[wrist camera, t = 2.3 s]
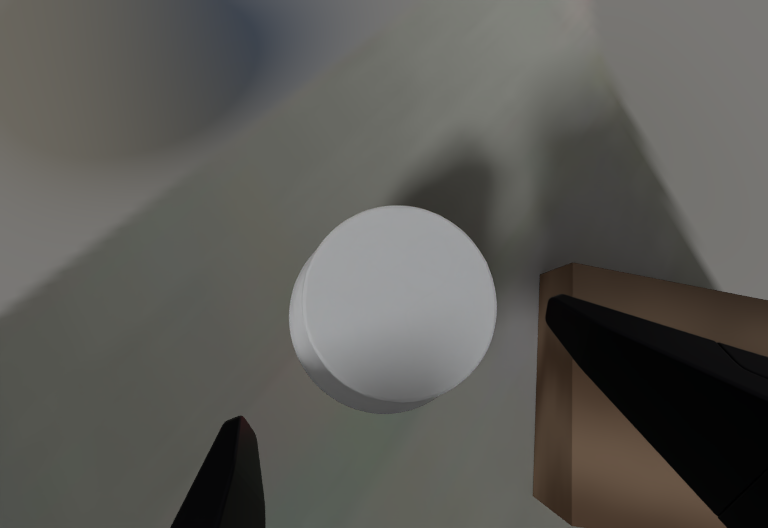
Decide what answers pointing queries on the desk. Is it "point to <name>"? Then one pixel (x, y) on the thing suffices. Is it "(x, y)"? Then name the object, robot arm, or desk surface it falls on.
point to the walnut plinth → (604, 421)
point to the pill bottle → (392, 309)
